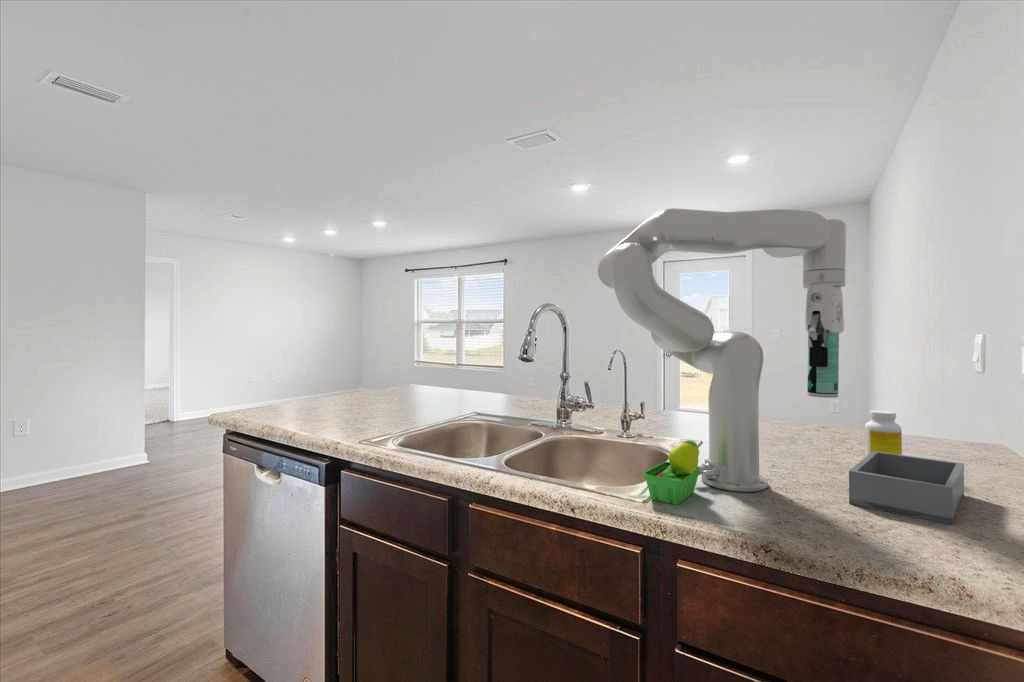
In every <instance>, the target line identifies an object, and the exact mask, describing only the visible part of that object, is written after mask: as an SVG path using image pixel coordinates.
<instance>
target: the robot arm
mask: <svg viewBox="0 0 1024 682" xmlns="http://www.w3.org/2000/svg"><path fill="white" fill-rule="evenodd" d="M846 240H847V227H846V223H845V222H844V221H843V220H842V219H835V218H831V219H826V218H825V217H824V216H823V215H822V214H820V213H817V212H814V211H812V210H811V211H810V210H800V209H799V210H797V209H779V208H778V209H776V208H775V209H761V210H739V211H718V210H717V211H716V210H704V209H703V210H700V209H690V208H689V209H688V208H673V207H672V208H665V209H662V210H660V211H657V212H656V213H654V214H653V215H652V216H650V217H648V218H647V219H646V220H644V221H643V222H641V224H639V225H638V226H637V227H636V228H635V229H634V230H633V231H632V232H631V233H630V234H628V235H627V236H626V237H625V238H623V239H622V240H621V241H620V242H618V243H617V244H616V245H615V246H614V247H612V248H611V249H610V250H609V251H607V252H606V253H605V254H604V255H603V256H602V257H601V259H600V260H599V263H598V264H597V265H598V266H597V275H598V278H599V281H600V282H601V283H602V284H603V285H604V286H606V287H608V288H610V289H613V290H614V293H615V296H616V299H617V301H618V303H619V306H620V308H621V310H622V311H623V312H624V314H626V316H627V317H628V318H630V320H632V321H633V322H634V323H636V324H638V325H639V326H641V327H642V328H644V329H646V330H647V331H649V332H650V335H651V338H652V340H653V342H654V343H655V345H656V346H658V347H659V348H660V349H661V350H663V351H664V352H666V353H668V354H669V355H671V356H673V357H674V358H676V359H678V360H680V361H681V362H684V363H685V364H687V365H689V366H691V367H692V368H695V369H696V370H698V371H700V372H703V373H706V374H709V375H712V378H711V382H710V385H709V391H708V457H709V458H706V459H704V463H702V464H701V465H698V466H697V467H700V468H701V470H700V473H699V475H698V476H700V475H701V481H702V482H703V483H705V484H706V485H708V486H711V487H713V488H716V489H720V490H724V491H725V490H726V491H732V492H738V493H739V492H741V493H742V492H745V493H747V492H748V493H749V492H759V491H763V490H765V489H767V488H768V485H769V481H768V479H767V478H766V477H764V476H763V475H761V474H760V408H759V407H760V405H759V404H760V403H759V401H760V400H759V396H760V393H759V392H760V390H759V389H760V383H761V382H760V381H761V378H762V377H761V375H762V371H763V366H764V352H763V347H762V346H761V344H760V342H759V341H758V340H757V339H756V338H755V337H754V336H752V335H750V334H748V333H745V332H742V331H735V330H734V331H727V330H724V331H715V326H714V323H713V321H712V320H711V319H710V317H709V316H708V315H707V314H706V313H704V312H702V311H701V310H699V309H697V308H695V307H693V306H691V305H690V304H688V303H686V302H684V301H682V300H681V299H679V298H677V297H675V296H673V295H672V294H671V293H669V292H668V291H666V290H664V289H663V288H662V287H660V285H659V284H658V282H657V281H656V278H655V275H654V272H653V271H654V269H653V264H654V263H655V262H656V261H657V260H659V258H661V257H662V256H663V255H664V254H667V253H669V252H686V253H689V252H690V253H700V254H701V253H704V254H705V253H706V254H716V255H725V254H726V255H727V254H736V253H741V252H746V251H747V252H748V251H751V250H752V251H753V250H758V249H762V250H763V252H765V254H767V255H769V256H770V257H772V258H780V259H783V258H784V259H785V258H791V257H799V256H801V257H803V258H802V288H803V289H807V290H806V295H805V296H806V301H805V330H806V332H807V333H808V332H809V333H810V343H809V346H810V347H809V365H810V366H811V367H827V366H828V348H826V342H827V330H829V332H830V333H837V332H839V334H842V333H843V332H844V331H845V325H844V324H845V320H844V317H845V316H844V301H843V299H844V297H843V291H842V287H843V288H844V287H846V253H847V252H846V251H847V249H846V247H847V245H846V244H847V243H846V242H847V241H846ZM838 316H839V320H838ZM818 330H824V332H818Z"/></svg>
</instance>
